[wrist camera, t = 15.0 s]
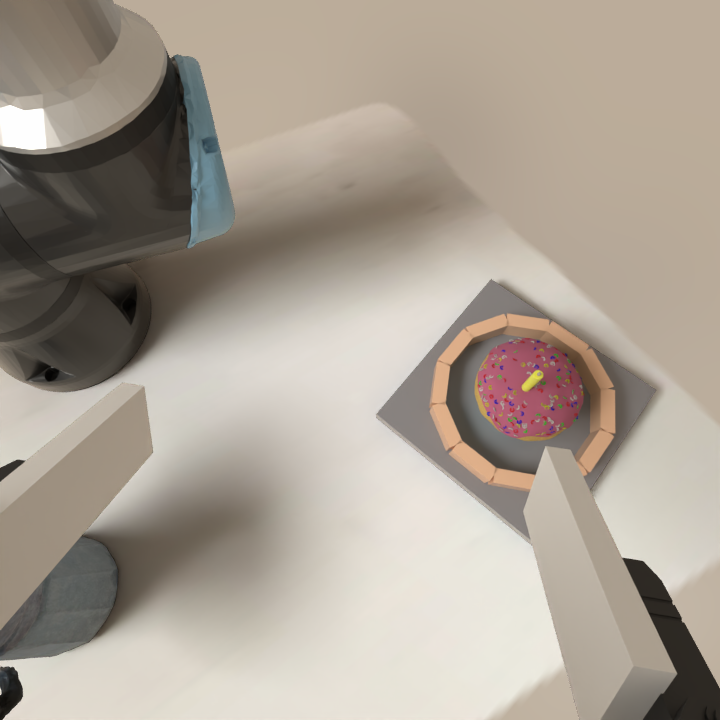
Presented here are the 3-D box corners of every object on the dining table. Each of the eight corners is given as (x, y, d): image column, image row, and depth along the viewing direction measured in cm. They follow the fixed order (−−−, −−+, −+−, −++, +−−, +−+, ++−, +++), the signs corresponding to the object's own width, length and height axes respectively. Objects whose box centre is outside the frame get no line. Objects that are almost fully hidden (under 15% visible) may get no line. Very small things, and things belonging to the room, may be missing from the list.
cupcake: (507, 469, 39) (561, 446, 28) (445, 392, 42) (471, 342, 30) (580, 412, 41) (659, 369, 29) (516, 341, 43) (565, 276, 32)
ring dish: (376, 417, 43) (376, 408, 39) (487, 286, 47) (496, 268, 44) (541, 553, 38) (556, 555, 35) (647, 394, 43) (669, 383, 39)
